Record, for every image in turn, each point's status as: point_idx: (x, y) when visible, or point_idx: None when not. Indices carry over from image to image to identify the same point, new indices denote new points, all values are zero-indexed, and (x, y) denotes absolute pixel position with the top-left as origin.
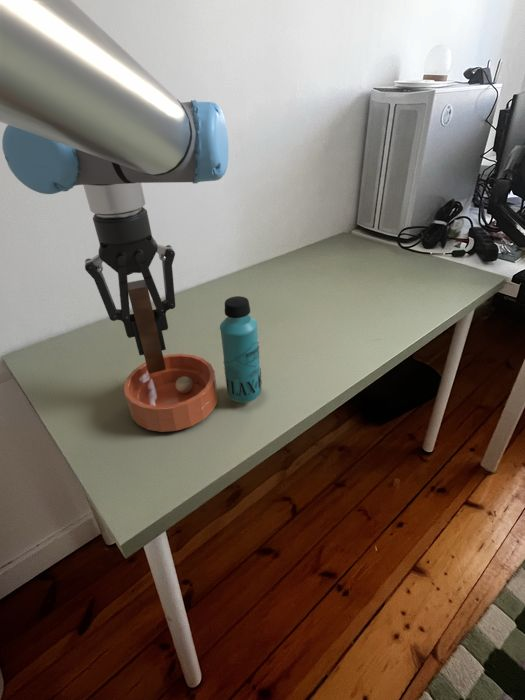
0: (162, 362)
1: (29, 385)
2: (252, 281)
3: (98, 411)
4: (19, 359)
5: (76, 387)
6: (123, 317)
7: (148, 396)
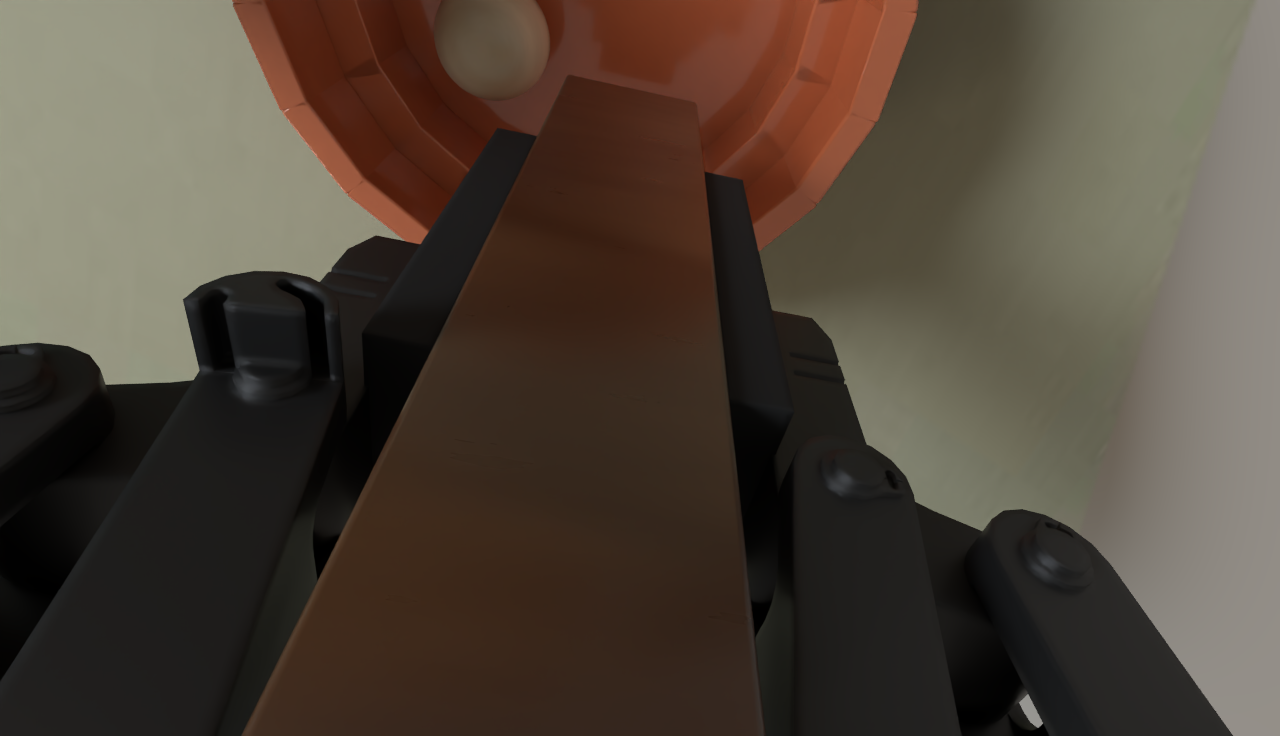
0: (572, 96)
1: (1074, 503)
2: None
3: (957, 183)
4: None
5: (942, 400)
6: (898, 508)
7: (708, 118)
